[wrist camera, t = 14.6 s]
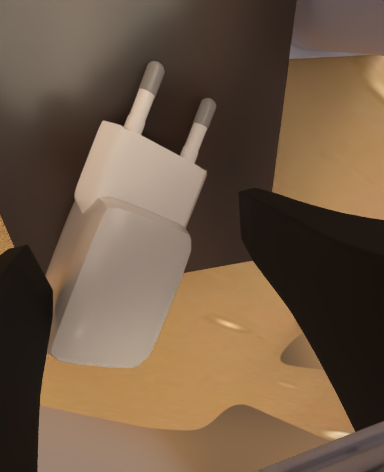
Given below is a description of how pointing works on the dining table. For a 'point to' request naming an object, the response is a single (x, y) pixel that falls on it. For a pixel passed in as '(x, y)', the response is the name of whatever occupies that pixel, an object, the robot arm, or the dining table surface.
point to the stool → (122, 99)
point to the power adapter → (125, 239)
